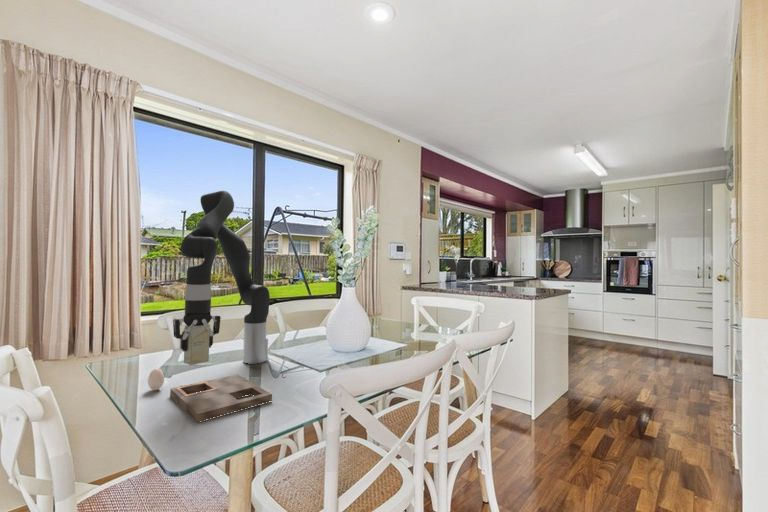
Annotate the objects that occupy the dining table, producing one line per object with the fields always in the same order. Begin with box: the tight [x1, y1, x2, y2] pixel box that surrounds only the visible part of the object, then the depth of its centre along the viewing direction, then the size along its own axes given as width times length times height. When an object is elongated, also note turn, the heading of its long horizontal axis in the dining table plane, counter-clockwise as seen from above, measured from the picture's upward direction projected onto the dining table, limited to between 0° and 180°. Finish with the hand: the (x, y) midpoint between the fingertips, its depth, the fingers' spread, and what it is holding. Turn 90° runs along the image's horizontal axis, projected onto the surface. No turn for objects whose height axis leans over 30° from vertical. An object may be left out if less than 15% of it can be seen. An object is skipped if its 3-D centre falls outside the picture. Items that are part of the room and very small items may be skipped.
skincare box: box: [183, 323, 211, 366], centre depth 119 cm, size 6×4×12 cm
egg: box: [147, 367, 165, 391], centre depth 124 cm, size 5×5×7 cm
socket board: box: [169, 373, 273, 423], centre depth 118 cm, size 22×26×3 cm
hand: (196, 349), depth 119 cm, fingers closed on skincare box, 7 cm apart
